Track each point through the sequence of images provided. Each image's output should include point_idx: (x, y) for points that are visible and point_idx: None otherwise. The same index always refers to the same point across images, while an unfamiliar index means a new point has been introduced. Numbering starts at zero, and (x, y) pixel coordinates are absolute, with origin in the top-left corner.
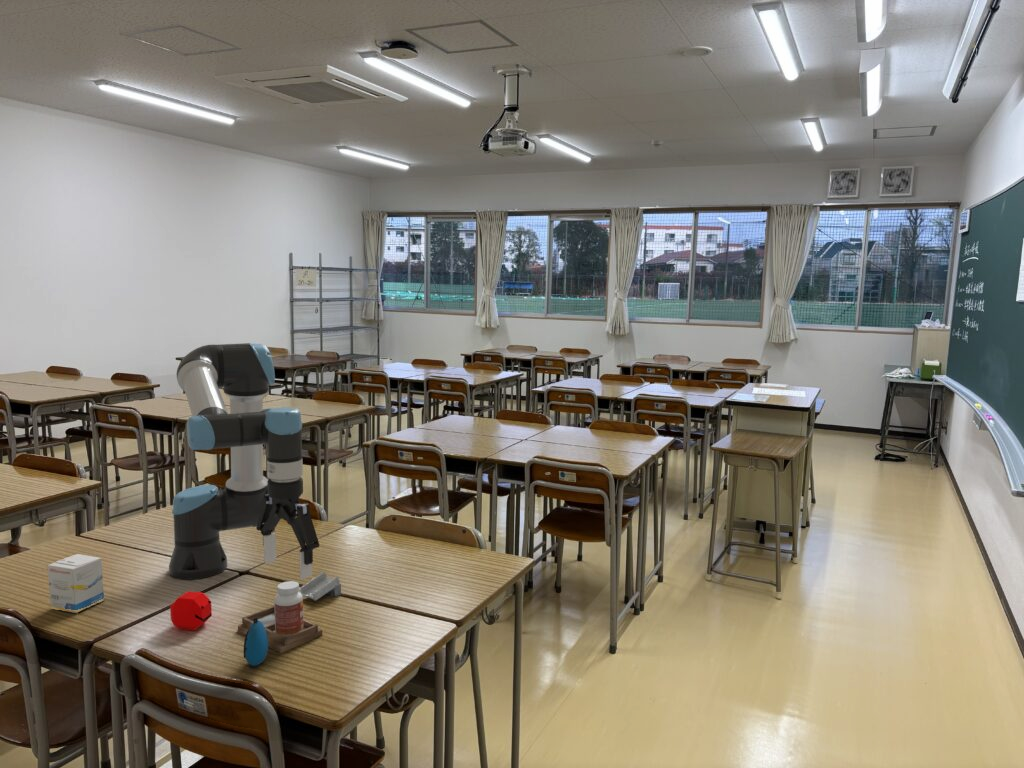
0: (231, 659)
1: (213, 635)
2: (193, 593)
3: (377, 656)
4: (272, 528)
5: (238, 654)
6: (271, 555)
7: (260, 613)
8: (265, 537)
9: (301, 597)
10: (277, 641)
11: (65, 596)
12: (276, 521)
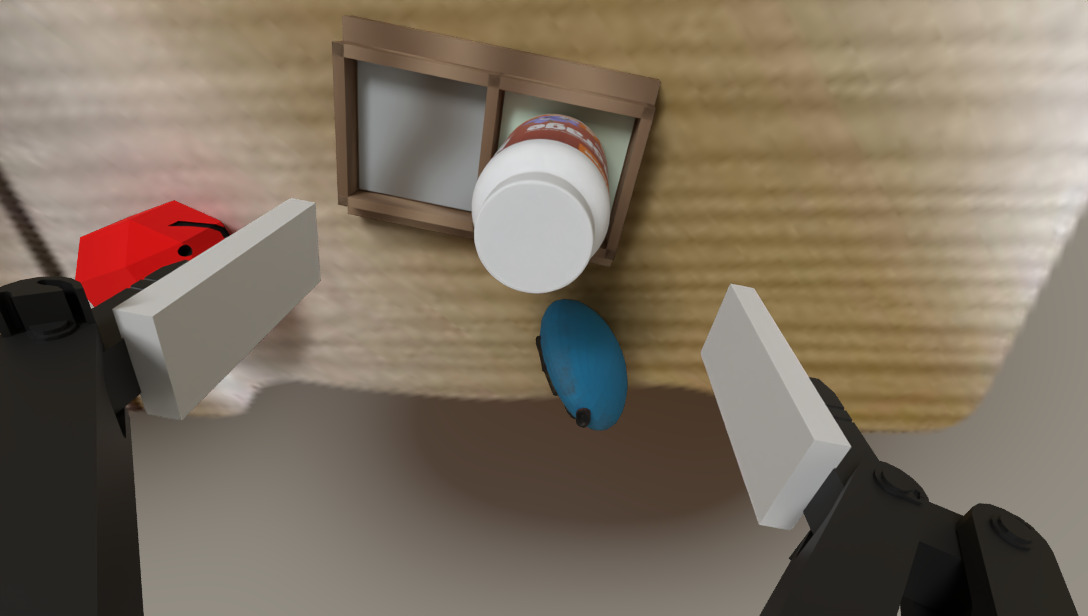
0: (503, 340)
1: (326, 265)
2: (111, 288)
3: (980, 118)
4: (108, 408)
5: (497, 314)
6: (292, 262)
7: (348, 129)
8: (186, 411)
9: (604, 188)
10: None
11: None
12: (112, 539)
